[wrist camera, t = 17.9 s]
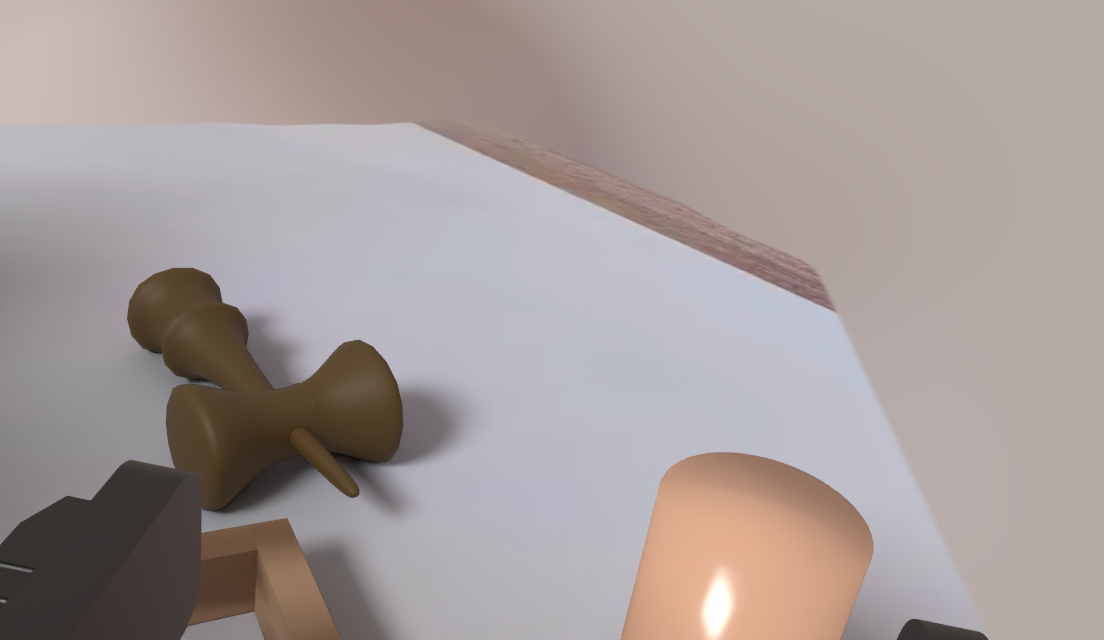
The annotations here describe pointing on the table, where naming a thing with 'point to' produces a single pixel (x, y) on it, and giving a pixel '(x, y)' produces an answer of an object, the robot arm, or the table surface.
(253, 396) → the kendama
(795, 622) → the peach cylinder post
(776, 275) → the table surface
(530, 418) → the table surface
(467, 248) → the table surface
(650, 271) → the table surface
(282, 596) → the walnut collar
